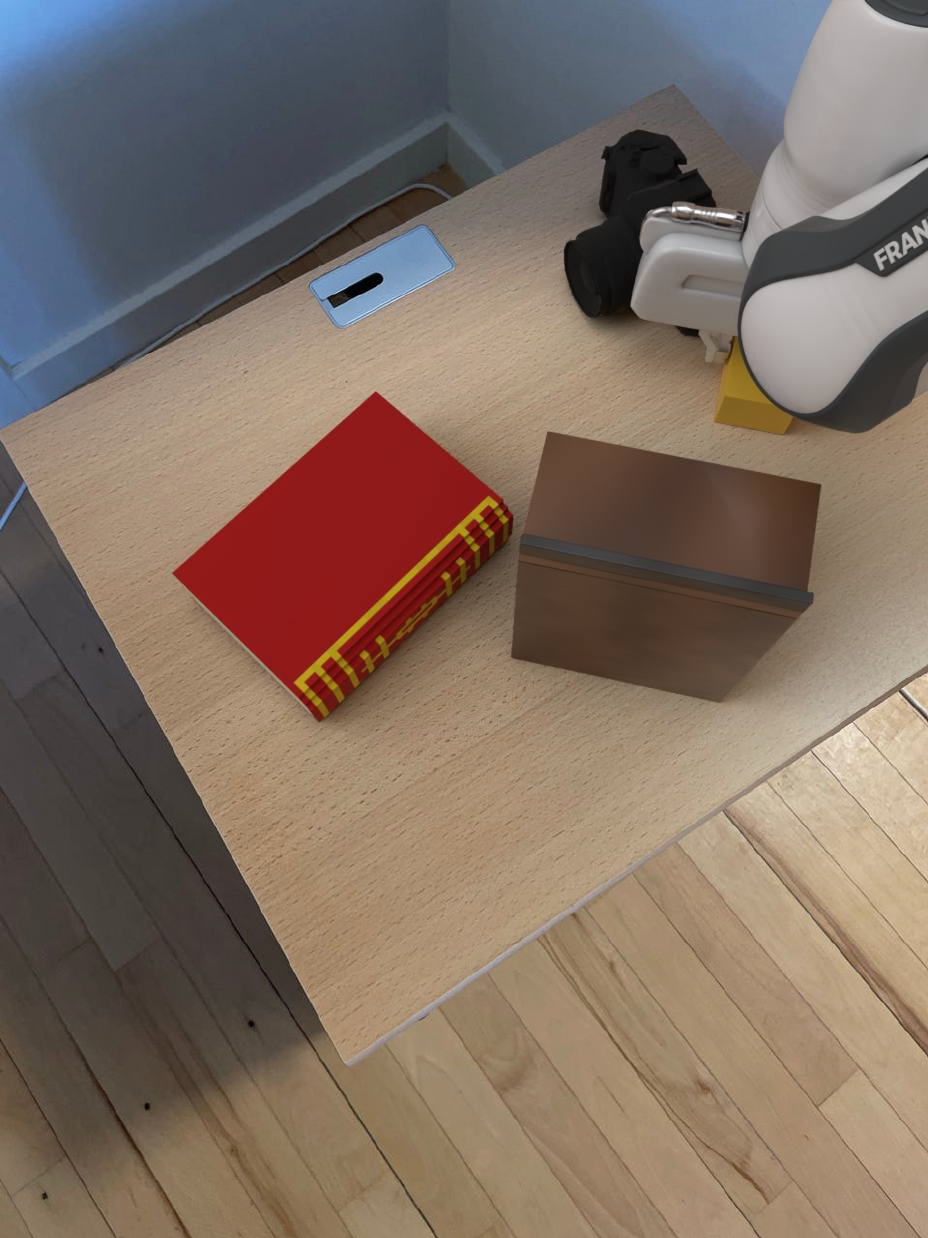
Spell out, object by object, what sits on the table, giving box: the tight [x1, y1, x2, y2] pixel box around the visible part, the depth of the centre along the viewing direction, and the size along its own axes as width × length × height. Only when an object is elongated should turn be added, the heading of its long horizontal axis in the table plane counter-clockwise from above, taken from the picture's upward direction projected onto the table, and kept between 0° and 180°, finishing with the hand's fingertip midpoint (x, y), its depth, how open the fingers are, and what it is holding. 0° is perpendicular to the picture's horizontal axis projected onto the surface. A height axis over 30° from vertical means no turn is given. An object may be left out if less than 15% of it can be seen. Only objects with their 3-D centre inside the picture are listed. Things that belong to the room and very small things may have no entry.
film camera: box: [563, 128, 718, 337], centre depth 71 cm, size 15×10×9 cm, turn 25°
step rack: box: [510, 559, 799, 704], centre depth 59 cm, size 14×13×17 cm
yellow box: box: [713, 336, 795, 436], centre depth 70 cm, size 5×9×4 cm, turn 167°
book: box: [171, 390, 514, 724], centre depth 65 cm, size 18×13×5 cm
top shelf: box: [518, 431, 822, 619], centre depth 49 cm, size 14×7×2 cm, turn 77°
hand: (761, 363), depth 70 cm, fingers open, 5 cm apart
